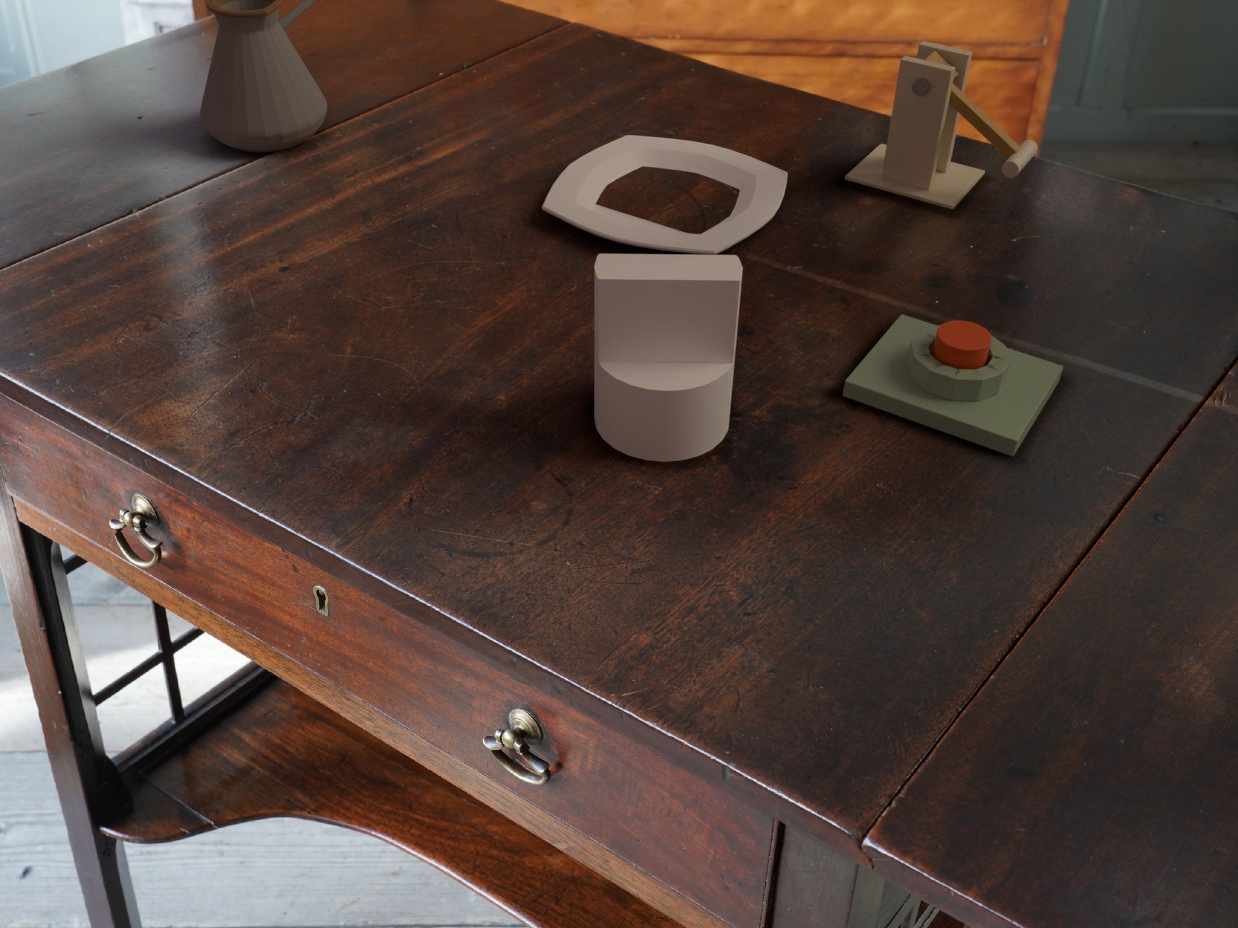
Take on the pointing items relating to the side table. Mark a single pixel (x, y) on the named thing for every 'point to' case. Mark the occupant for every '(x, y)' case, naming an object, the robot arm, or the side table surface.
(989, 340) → the lamp button
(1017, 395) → the button housing
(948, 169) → the bracket
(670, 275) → the cylinder with rectangular tab
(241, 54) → the coffee pot
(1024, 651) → the side table surface
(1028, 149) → the lever handle
